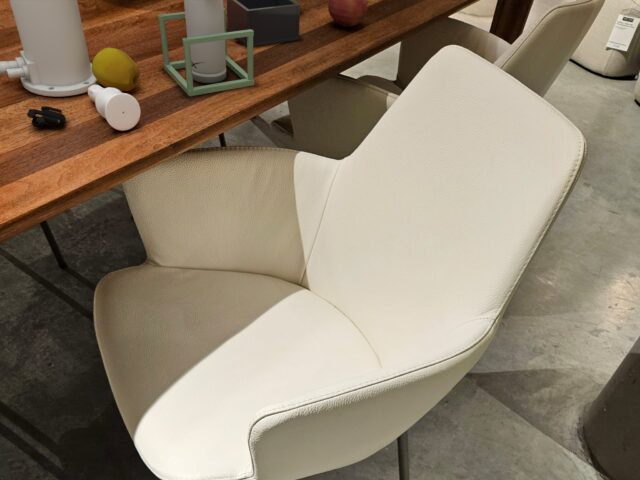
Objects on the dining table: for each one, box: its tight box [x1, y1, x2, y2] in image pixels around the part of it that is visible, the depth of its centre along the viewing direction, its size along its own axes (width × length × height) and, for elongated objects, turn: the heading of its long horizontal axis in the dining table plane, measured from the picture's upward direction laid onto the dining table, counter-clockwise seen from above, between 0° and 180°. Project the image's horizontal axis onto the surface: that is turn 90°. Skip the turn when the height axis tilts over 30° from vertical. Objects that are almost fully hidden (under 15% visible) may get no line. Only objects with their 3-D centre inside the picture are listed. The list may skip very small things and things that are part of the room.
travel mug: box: [183, 0, 227, 85], centre depth 96 cm, size 6×7×20 cm
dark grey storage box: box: [226, 0, 301, 48], centre depth 116 cm, size 11×9×7 cm
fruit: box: [327, 0, 369, 28], centre depth 122 cm, size 8×8×10 cm
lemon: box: [91, 47, 141, 92], centre depth 95 cm, size 6×6×8 cm
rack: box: [157, 7, 255, 97], centre depth 99 cm, size 12×12×9 cm
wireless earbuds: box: [26, 105, 67, 129], centre depth 86 cm, size 7×2×5 cm
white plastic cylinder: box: [87, 84, 142, 131], centre depth 89 cm, size 5×5×12 cm
